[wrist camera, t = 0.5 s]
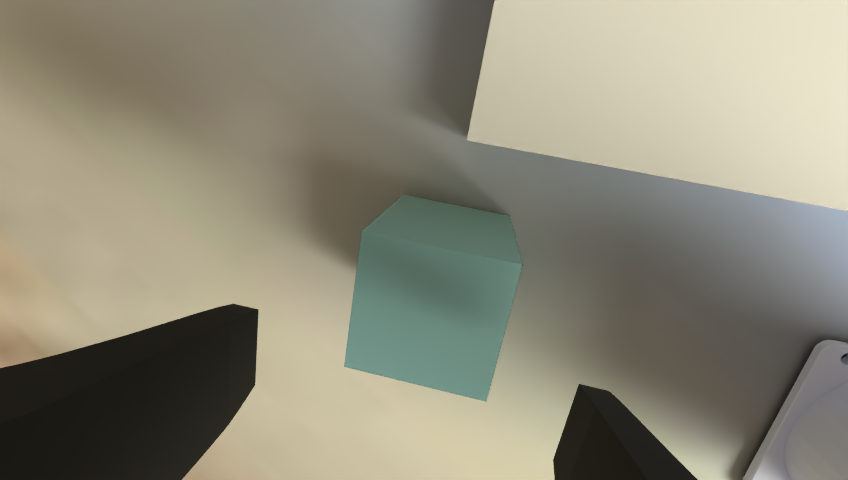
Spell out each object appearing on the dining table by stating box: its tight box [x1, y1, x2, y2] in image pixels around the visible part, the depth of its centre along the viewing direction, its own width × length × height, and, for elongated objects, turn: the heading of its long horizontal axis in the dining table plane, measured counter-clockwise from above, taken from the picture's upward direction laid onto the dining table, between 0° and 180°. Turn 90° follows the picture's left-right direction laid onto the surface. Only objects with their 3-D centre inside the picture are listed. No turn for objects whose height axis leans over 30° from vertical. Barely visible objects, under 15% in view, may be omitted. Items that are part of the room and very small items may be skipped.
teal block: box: [344, 195, 523, 401], centre depth 14 cm, size 4×4×6 cm
